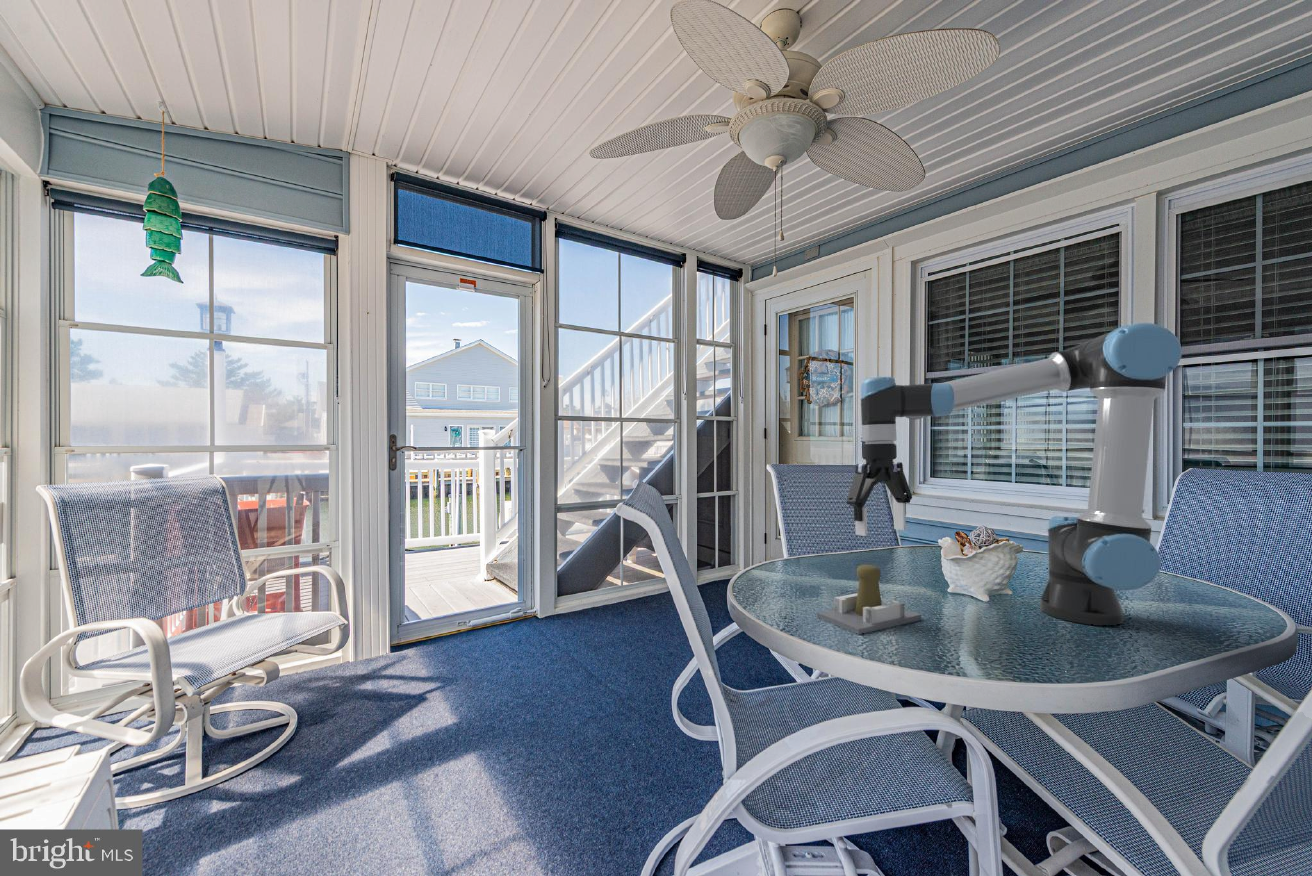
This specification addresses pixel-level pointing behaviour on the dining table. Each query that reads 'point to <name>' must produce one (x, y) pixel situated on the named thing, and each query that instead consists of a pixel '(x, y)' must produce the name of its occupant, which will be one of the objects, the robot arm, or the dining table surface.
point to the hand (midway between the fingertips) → (881, 532)
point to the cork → (868, 588)
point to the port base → (867, 615)
